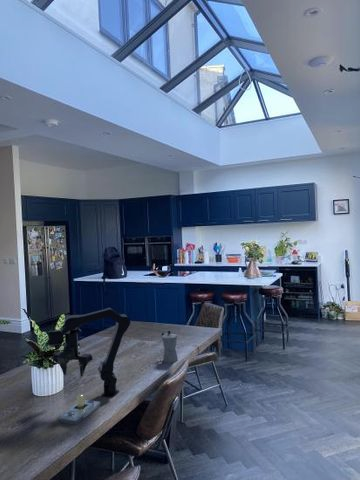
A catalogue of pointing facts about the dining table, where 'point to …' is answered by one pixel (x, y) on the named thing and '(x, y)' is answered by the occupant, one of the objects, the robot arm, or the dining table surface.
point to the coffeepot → (169, 347)
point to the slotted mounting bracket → (78, 412)
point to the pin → (80, 401)
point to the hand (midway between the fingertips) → (73, 375)
